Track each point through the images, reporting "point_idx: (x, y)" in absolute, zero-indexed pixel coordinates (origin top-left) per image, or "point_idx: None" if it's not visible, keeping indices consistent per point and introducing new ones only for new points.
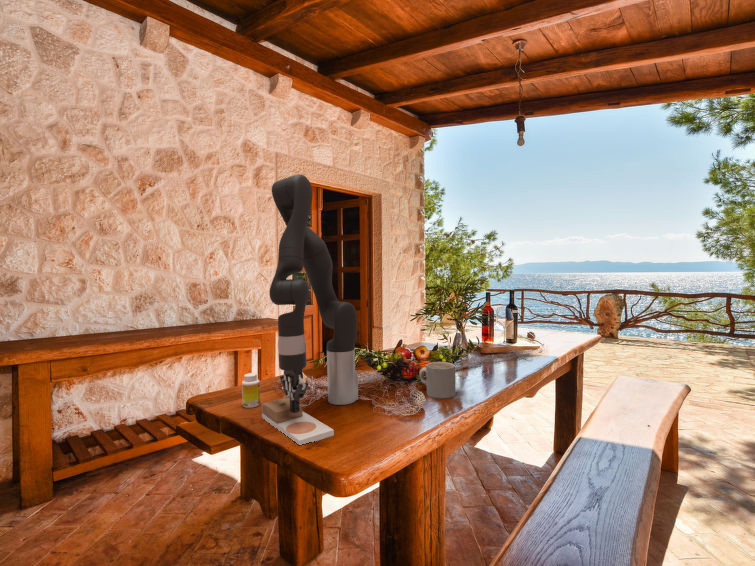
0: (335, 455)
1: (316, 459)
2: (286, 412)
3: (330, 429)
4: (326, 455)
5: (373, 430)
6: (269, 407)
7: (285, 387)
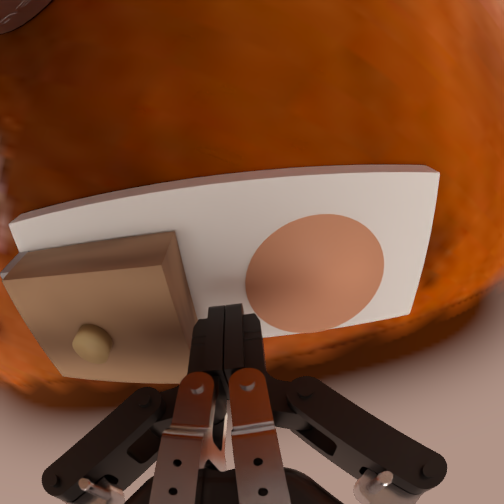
0: (501, 236)
1: (478, 282)
2: (189, 338)
3: (427, 181)
4: (486, 255)
5: (469, 23)
6: (121, 380)
7: (152, 460)
